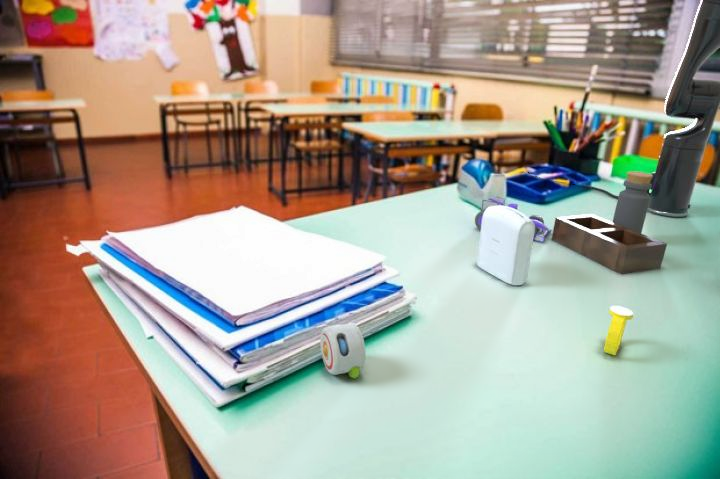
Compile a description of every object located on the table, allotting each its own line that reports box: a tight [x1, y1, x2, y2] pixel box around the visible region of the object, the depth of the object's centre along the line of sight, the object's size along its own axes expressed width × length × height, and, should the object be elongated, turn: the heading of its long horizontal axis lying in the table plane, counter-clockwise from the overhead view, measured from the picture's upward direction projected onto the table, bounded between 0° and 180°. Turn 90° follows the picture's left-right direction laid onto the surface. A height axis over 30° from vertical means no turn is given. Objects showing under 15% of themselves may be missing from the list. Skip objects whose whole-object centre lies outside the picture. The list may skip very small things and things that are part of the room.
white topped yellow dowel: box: [603, 305, 634, 356], centre depth 65 cm, size 6×3×6 cm, turn 144°
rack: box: [551, 213, 668, 275], centre depth 99 cm, size 18×10×5 cm, turn 21°
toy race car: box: [474, 195, 552, 243], centre depth 109 cm, size 10×15×6 cm, turn 57°
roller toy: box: [319, 322, 367, 379], centre depth 59 cm, size 4×6×6 cm
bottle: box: [612, 170, 653, 234], centre depth 104 cm, size 6×6×15 cm
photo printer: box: [476, 205, 535, 286], centre depth 86 cm, size 10×4×12 cm, turn 26°
